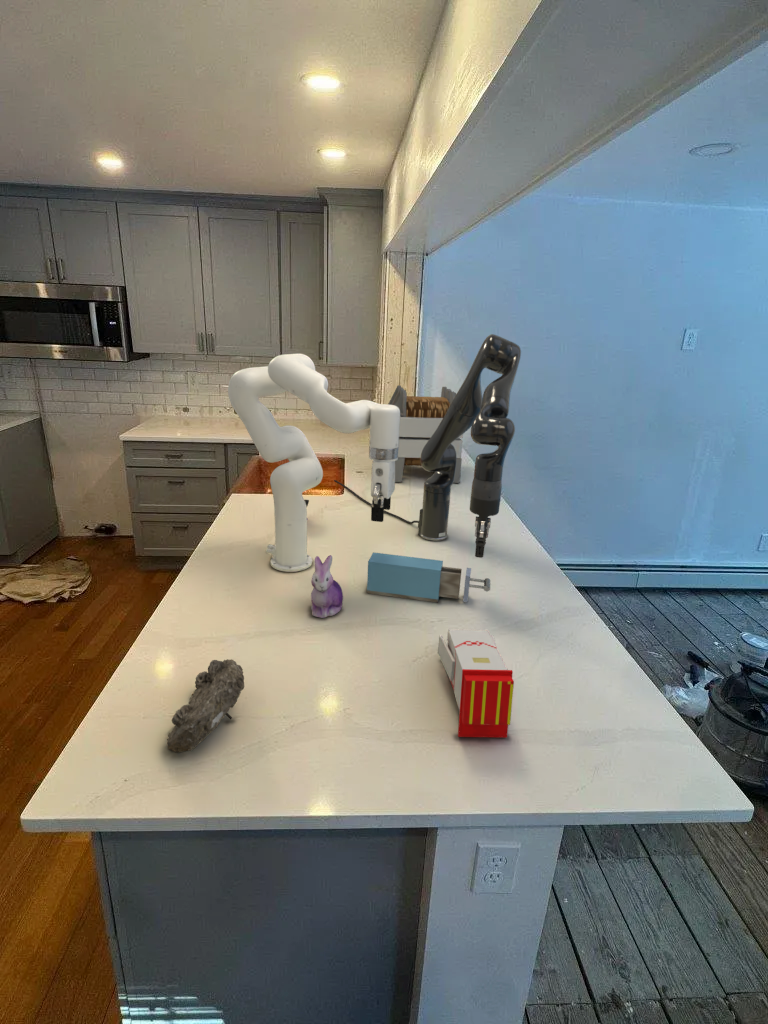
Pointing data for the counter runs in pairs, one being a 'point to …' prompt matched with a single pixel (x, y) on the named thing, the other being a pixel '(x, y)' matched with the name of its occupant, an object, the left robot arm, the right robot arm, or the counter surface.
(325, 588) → the figurine
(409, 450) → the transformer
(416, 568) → the cabinet
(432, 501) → the right robot arm
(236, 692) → the fossil
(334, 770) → the counter surface
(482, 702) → the toy
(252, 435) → the left robot arm
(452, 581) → the drawer
